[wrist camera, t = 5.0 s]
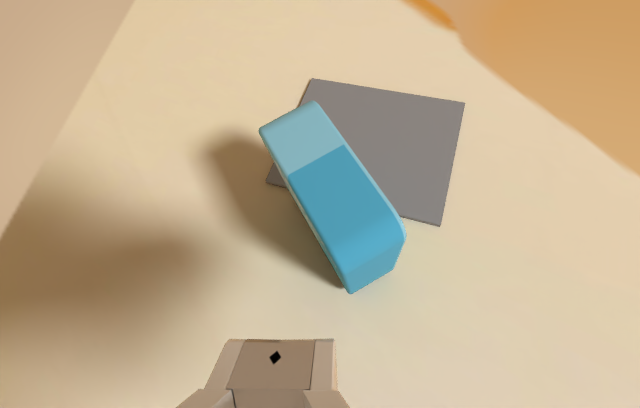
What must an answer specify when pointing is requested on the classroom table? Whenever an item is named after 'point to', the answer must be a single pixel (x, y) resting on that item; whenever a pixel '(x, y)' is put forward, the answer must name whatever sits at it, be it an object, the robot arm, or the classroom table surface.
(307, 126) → the data package
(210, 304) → the classroom table surface
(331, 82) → the mat
